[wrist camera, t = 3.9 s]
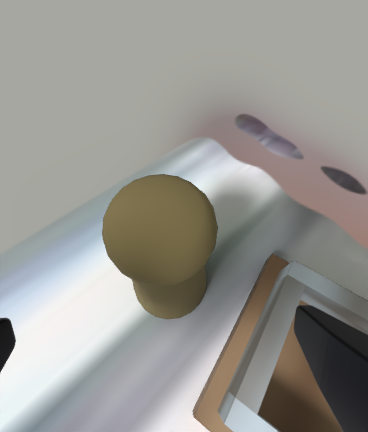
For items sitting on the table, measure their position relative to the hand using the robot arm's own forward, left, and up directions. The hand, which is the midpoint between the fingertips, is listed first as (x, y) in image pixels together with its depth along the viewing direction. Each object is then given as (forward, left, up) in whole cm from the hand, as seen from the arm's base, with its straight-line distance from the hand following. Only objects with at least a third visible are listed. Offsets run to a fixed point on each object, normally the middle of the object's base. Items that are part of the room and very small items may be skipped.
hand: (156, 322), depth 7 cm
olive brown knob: (+2, -3, -11) cm, 12 cm away
